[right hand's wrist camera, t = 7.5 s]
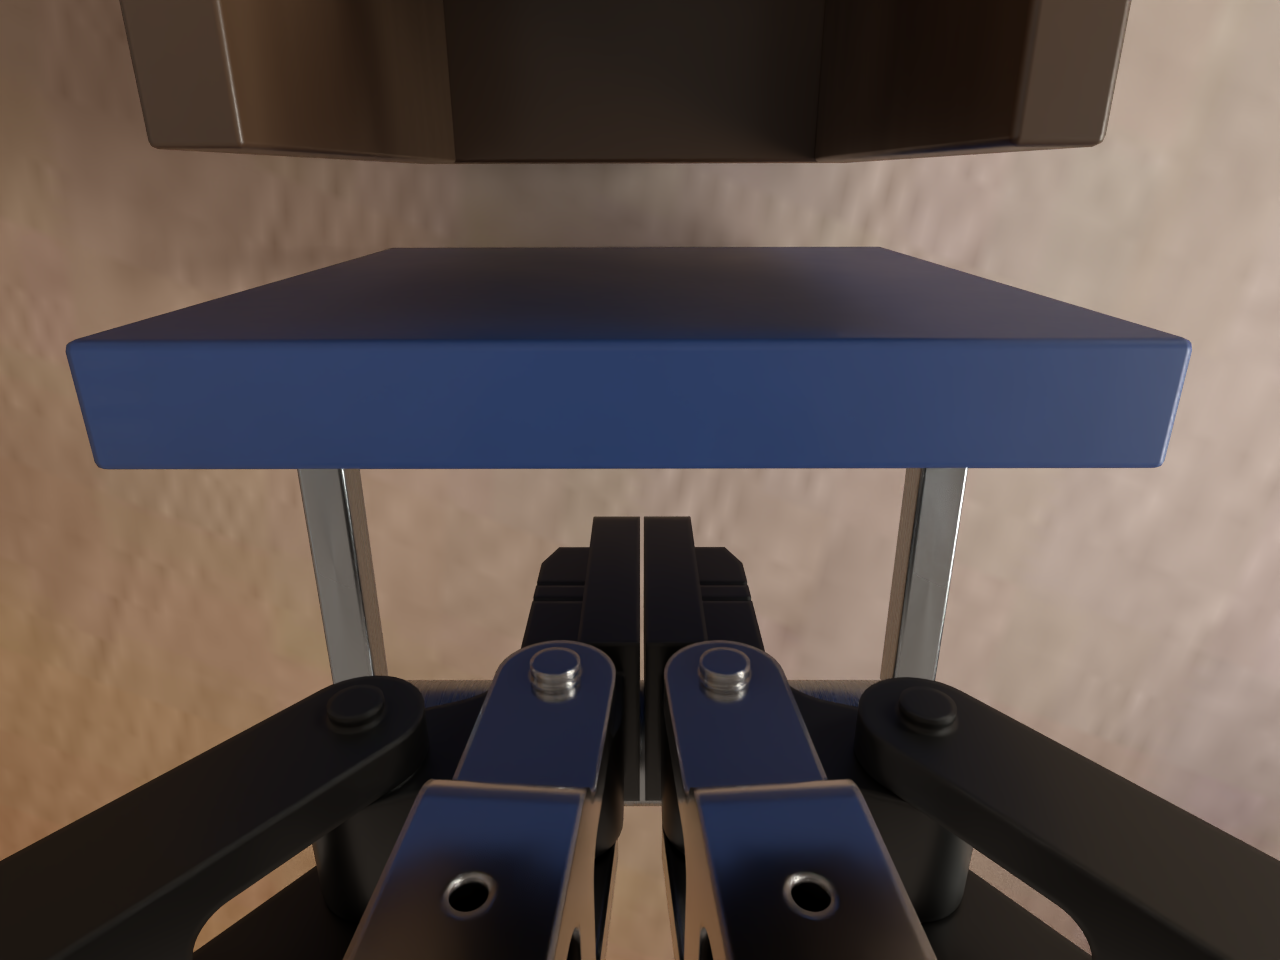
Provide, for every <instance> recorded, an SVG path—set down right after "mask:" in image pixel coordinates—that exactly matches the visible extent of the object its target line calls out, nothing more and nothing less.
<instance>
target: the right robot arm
mask: <svg viewBox="0 0 1280 960" xmlns="http://www.w3.org/2000/svg"><path fill="white" fill-rule="evenodd" d="M533 598H534V600H533V601H532V605H531V609H530V614H529V618H528V622H527V626H526V630H525V634H524V638H523V642H522V646H521V649H520V650H518V651H516V652H514V653H513V654H511V655H510V656H508V657H507V658H506V659H505V660H504V661H503V662H502V663H501V664H500V666H499V667H498V669H497V671H496V673H495V676H494V678H493V681H492V683H491V686H490V688H489V690H488V691H486V692H484V693H482V694H479V695H476V696H474V697H471V698H468V699H464V700H460V701H456V702H451V703H446V704H442V705H437V706H432V707H428V708H425V705H424V698H423V696H422V693H421V692H420V691H419V689H418V688H417V687H415V686H414V685H413V684H412V683H410V682H408V681H405V680H403V679H400V678H396V677H390V676H376V675H375V676H363V677H357V678H352V679H348V680H344V681H341V682H338V683H335V684H333V685H330V686H328V687H326V688H324V689H322V690H320V691H318V692H316V693H314V694H312V695H311V696H309V697H307V698H305V699H303V700H301V701H299V702H297V703H296V704H294V705H292V706H290V707H288V708H286V709H284V710H282V711H281V712H279V713H277V714H275V715H273V716H271V717H269V718H267V719H266V720H264V721H262V722H260V723H258V724H256V725H254V726H252V727H251V728H249V729H247V730H245V731H243V732H241V733H239V734H238V735H236V736H234V737H232V738H230V739H228V740H226V741H224V742H223V743H221V744H219V745H217V746H215V747H213V748H211V749H209V750H208V751H206V752H204V753H202V754H200V755H198V756H196V757H194V758H193V759H191V760H189V761H187V762H185V763H183V764H181V765H179V766H178V767H176V768H174V769H172V770H170V771H168V772H166V773H164V774H163V775H161V776H159V777H157V778H155V779H153V780H151V781H150V782H148V783H146V784H144V785H142V786H140V787H138V788H136V789H135V790H133V791H131V792H129V793H127V794H125V795H123V796H121V797H120V798H118V799H116V800H114V801H112V802H110V803H108V804H106V805H105V806H103V807H101V808H99V809H97V810H95V811H93V812H91V813H90V814H88V815H86V816H84V817H82V818H80V819H78V820H76V821H75V822H73V823H71V824H69V825H67V826H65V827H63V828H62V829H60V830H58V831H56V832H54V833H52V834H50V835H48V836H47V837H45V838H43V839H41V840H39V841H37V842H35V843H33V844H32V845H30V846H28V847H26V848H24V849H22V850H20V851H18V852H17V853H15V854H13V855H11V856H9V857H7V858H5V859H3V860H2V861H0V960H605V959H606V951H607V943H608V935H609V927H610V919H611V911H612V902H613V894H614V886H615V878H616V870H617V862H618V837H619V835H620V833H621V830H622V826H623V811H624V801H640V517H594V518H593V525H592V533H591V541H590V547H559V548H558V549H557V550H556V551H555V552H554V553H553V554H552V555H550V556H549V557H548V558H547V559H546V560H545V561H544V562H543V563H542V565H541V569H540V573H539V577H538V581H537V586H536V589H535V593H534V597H533ZM644 725H645V801H662V863H663V871H664V879H665V887H666V895H667V903H668V911H669V919H670V927H671V935H672V943H673V951H674V959H675V960H1280V861H1278V860H1277V859H1275V858H1273V857H1271V856H1269V855H1267V854H1265V853H1263V852H1262V851H1260V850H1258V849H1256V848H1254V847H1252V846H1250V845H1248V844H1247V843H1245V842H1243V841H1241V840H1239V839H1237V838H1235V837H1233V836H1232V835H1230V834H1228V833H1226V832H1224V831H1222V830H1220V829H1219V828H1217V827H1215V826H1213V825H1211V824H1209V823H1207V822H1205V821H1204V820H1202V819H1200V818H1198V817H1196V816H1194V815H1192V814H1190V813H1189V812H1187V811H1185V810H1183V809H1181V808H1179V807H1177V806H1175V805H1174V804H1172V803H1170V802H1168V801H1166V800H1164V799H1162V798H1160V797H1159V796H1157V795H1155V794H1153V793H1151V792H1149V791H1147V790H1145V789H1144V788H1142V787H1140V786H1138V785H1136V784H1134V783H1132V782H1131V781H1129V780H1127V779H1125V778H1123V777H1121V776H1119V775H1117V774H1116V773H1114V772H1112V771H1110V770H1108V769H1106V768H1104V767H1102V766H1101V765H1099V764H1097V763H1095V762H1093V761H1091V760H1089V759H1087V758H1086V757H1084V756H1082V755H1080V754H1078V753H1076V752H1074V751H1072V750H1071V749H1069V748H1067V747H1065V746H1063V745H1061V744H1059V743H1057V742H1056V741H1054V740H1052V739H1050V738H1048V737H1046V736H1044V735H1043V734H1041V733H1039V732H1037V731H1035V730H1033V729H1031V728H1029V727H1028V726H1026V725H1024V724H1022V723H1020V722H1018V721H1016V720H1014V719H1013V718H1011V717H1009V716H1007V715H1005V714H1003V713H1001V712H999V711H998V710H996V709H994V708H992V707H990V706H988V705H986V704H984V703H983V702H981V701H979V700H977V699H975V698H973V697H971V696H969V695H968V694H966V693H964V692H962V691H960V690H958V689H956V688H954V687H951V686H949V685H946V684H943V683H940V682H936V681H933V680H928V679H922V678H914V677H896V678H890V679H885V680H882V681H879V682H877V683H875V684H872V685H871V686H870V687H868V688H867V689H866V690H865V691H864V692H863V694H862V695H861V697H860V700H859V705H858V707H855V706H850V705H845V704H841V703H836V702H831V701H827V700H823V699H819V698H815V697H813V696H810V695H807V694H805V693H802V692H800V691H798V690H796V689H794V688H793V687H791V686H789V683H788V681H787V678H786V676H785V674H784V671H783V669H782V668H781V666H780V664H779V663H778V662H777V661H776V660H775V659H774V658H773V657H772V656H770V655H769V654H767V653H766V652H765V650H764V646H763V642H762V638H761V634H760V630H759V626H758V623H757V619H756V615H755V611H754V607H753V603H752V601H751V595H750V591H749V587H748V585H747V580H746V576H745V572H744V568H743V564H742V562H740V561H739V560H738V559H737V558H736V557H735V556H734V555H733V554H732V553H730V552H729V551H728V550H727V549H726V548H725V547H695V546H694V539H693V532H692V525H691V518H690V517H644ZM311 844H312V846H313V850H314V855H315V860H316V866H315V867H314V868H312V869H311V870H309V871H308V872H307V873H305V874H304V875H302V876H301V877H300V878H298V879H297V880H295V881H294V882H292V883H291V884H290V885H288V886H287V887H285V888H284V889H283V890H281V891H280V892H278V893H277V894H276V895H274V896H273V897H271V898H270V899H269V900H267V901H266V902H264V903H263V904H261V905H260V906H259V907H257V908H256V909H254V910H253V911H252V912H250V913H249V914H247V915H246V916H245V917H243V918H242V919H240V920H239V921H237V922H236V923H235V924H233V925H232V926H230V927H229V928H228V929H226V930H225V931H223V932H222V933H221V934H219V935H218V936H216V937H215V938H214V939H212V940H211V941H209V942H208V943H206V944H205V945H204V946H202V947H201V948H199V949H198V950H197V951H195V952H194V953H193V948H194V944H195V941H196V939H197V937H198V934H199V933H200V931H201V929H202V928H203V926H204V925H205V923H206V922H207V921H208V919H209V918H210V917H211V916H212V915H213V914H214V913H215V912H216V911H217V910H218V909H219V908H220V907H221V906H223V905H224V904H225V903H227V902H228V901H229V900H231V899H232V898H234V897H235V896H237V895H238V894H240V893H241V892H243V891H244V890H245V889H247V888H248V887H250V886H251V885H253V884H254V883H256V882H257V881H259V880H260V879H262V878H263V877H264V876H266V875H267V874H269V873H270V872H272V871H273V870H275V869H276V868H278V867H279V866H281V865H282V864H283V863H285V862H286V861H288V860H289V859H291V858H292V857H294V856H295V855H297V854H298V853H300V852H301V851H302V850H304V849H305V848H307V847H308V846H310V845H311ZM973 848H975V849H976V850H978V851H979V852H980V853H982V854H983V855H985V856H986V857H988V858H989V859H991V860H992V861H994V862H995V863H997V864H998V865H999V866H1001V867H1002V868H1004V869H1005V870H1007V871H1008V872H1010V873H1011V874H1013V875H1014V876H1016V877H1017V878H1018V879H1020V880H1021V881H1023V882H1024V883H1026V884H1027V885H1029V886H1030V887H1032V888H1033V889H1035V890H1036V891H1037V892H1039V893H1040V894H1042V895H1043V896H1045V897H1046V898H1048V899H1049V900H1051V901H1052V902H1054V903H1055V904H1056V905H1058V906H1059V907H1060V908H1062V909H1063V910H1064V911H1065V912H1066V913H1067V914H1069V915H1070V916H1071V917H1072V919H1073V920H1074V921H1075V922H1076V923H1077V924H1078V926H1079V927H1080V928H1081V930H1082V931H1083V933H1084V935H1085V937H1086V938H1087V941H1088V943H1089V945H1090V949H1091V953H1092V956H1091V955H1089V954H1088V953H1086V952H1085V951H1083V950H1082V949H1081V948H1079V947H1078V946H1076V945H1075V944H1074V943H1072V942H1071V941H1069V940H1068V939H1067V938H1065V937H1064V936H1062V935H1061V934H1059V933H1058V932H1057V931H1055V930H1054V929H1052V928H1051V927H1050V926H1048V925H1047V924H1045V923H1044V922H1043V921H1041V920H1040V919H1038V918H1037V917H1035V916H1034V915H1033V914H1031V913H1030V912H1028V911H1027V910H1026V909H1024V908H1023V907H1021V906H1020V905H1019V904H1017V903H1016V902H1014V901H1013V900H1012V899H1010V898H1009V897H1007V896H1006V895H1004V894H1003V893H1002V892H1000V891H999V890H997V889H996V888H995V887H993V886H992V885H990V884H989V883H988V882H986V881H985V880H983V879H982V878H980V877H979V876H978V875H976V874H975V873H973V872H972V871H971V870H969V865H970V860H971V855H972V850H973Z"/></svg>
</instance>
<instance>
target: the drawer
mask: <svg viewBox="0 0 1280 960" xmlns="http://www.w3.org/2000/svg"><path fill="white" fill-rule="evenodd" d="M120 5H121V10H122V15H123V20H124V24H125V29H126V34H127V39H128V44H129V49H130V53H131V58H132V63H133V68H134V73H135V78H136V82H137V87H138V92H139V97H140V102H141V107H142V111H143V116H144V121H145V126H146V131H147V136H148V140H149V143H150V145H151V146H152V147H155V148H157V149H168V150H186V151H203V152H221V153H239V154H257V155H275V156H293V157H311V158H329V159H346V160H364V161H382V162H400V163H419V164H583V163H850V162H864V161H880V160H895V159H910V158H925V157H941V156H956V155H971V154H987V153H1002V152H1017V151H1032V150H1048V149H1063V148H1078V147H1092V146H1095V145H1097V144H1100V143H1101V142H1102V141H1103V139H1104V137H1105V135H1106V130H1107V125H1108V120H1109V114H1110V109H1111V104H1112V99H1113V94H1114V88H1115V83H1116V78H1117V73H1118V67H1119V62H1120V57H1121V52H1122V47H1123V41H1124V36H1125V31H1126V26H1127V20H1128V15H1129V10H1130V5H1131V0H120ZM1191 352H1192V346H1191V342H1190V341H1189V340H1187V339H1184V338H1182V337H1179V336H1176V335H1172V334H1169V333H1166V332H1162V331H1159V330H1156V329H1152V328H1149V327H1146V326H1142V325H1139V324H1136V323H1132V322H1129V321H1126V320H1122V319H1119V318H1116V317H1112V316H1109V315H1105V314H1102V313H1099V312H1095V311H1092V310H1089V309H1085V308H1082V307H1079V306H1075V305H1072V304H1069V303H1065V302H1062V301H1059V300H1055V299H1052V298H1049V297H1045V296H1042V295H1039V294H1035V293H1032V292H1029V291H1025V290H1022V289H1019V288H1015V287H1012V286H1008V285H1005V284H1002V283H998V282H995V281H992V280H988V279H985V278H982V277H978V276H975V275H972V274H968V273H965V272H962V271H958V270H955V269H952V268H948V267H945V266H942V265H938V264H935V263H932V262H928V261H925V260H921V259H918V258H915V257H911V256H908V255H905V254H901V253H898V252H895V251H891V250H888V249H885V248H881V247H610V248H391V249H388V250H384V251H381V252H377V253H374V254H370V255H367V256H363V257H360V258H356V259H353V260H349V261H346V262H342V263H339V264H336V265H332V266H329V267H325V268H322V269H318V270H315V271H311V272H308V273H304V274H301V275H297V276H294V277H290V278H287V279H283V280H280V281H277V282H273V283H270V284H266V285H263V286H259V287H256V288H252V289H249V290H245V291H242V292H238V293H235V294H231V295H228V296H225V297H221V298H218V299H214V300H211V301H207V302H204V303H200V304H197V305H193V306H190V307H186V308H183V309H179V310H176V311H173V312H169V313H166V314H162V315H159V316H155V317H152V318H148V319H145V320H141V321H138V322H134V323H131V324H127V325H124V326H121V327H117V328H114V329H110V330H107V331H103V332H100V333H96V334H93V335H89V336H86V337H82V338H79V339H76V340H73V341H71V342H69V343H68V344H67V345H66V355H67V359H68V362H69V366H70V370H71V374H72V378H73V381H74V385H75V389H76V393H77V396H78V400H79V404H80V408H81V412H82V415H83V419H84V423H85V427H86V430H87V434H88V438H89V442H90V446H91V449H92V453H93V457H94V461H95V463H96V464H97V466H98V467H100V468H103V469H297V471H298V477H299V483H300V489H301V495H302V501H303V507H304V513H305V519H306V525H307V530H308V536H309V542H310V548H311V554H312V560H313V566H314V572H315V578H316V584H317V590H318V596H319V602H320V608H321V614H322V620H323V626H324V632H325V638H326V644H327V650H328V655H329V661H330V667H331V673H332V679H333V684H335V683H338V682H341V681H344V680H348V679H352V678H357V677H363V676H375V675H376V676H388V671H387V664H386V657H385V650H384V642H383V635H382V628H381V621H380V613H379V606H378V599H377V592H376V584H375V577H374V570H373V563H372V555H371V548H370V541H369V534H368V526H367V519H366V512H365V505H364V497H363V490H362V483H361V476H360V469H660V468H906V476H905V484H904V491H903V499H902V507H901V515H900V523H899V531H898V539H897V547H896V555H895V563H894V571H893V579H892V587H891V595H890V603H889V611H888V618H887V626H886V634H885V642H884V650H883V658H882V666H881V674H880V679H881V680H787V681H788V683H789V686H791V687H793V688H794V689H796V690H798V691H800V692H802V693H805V694H807V695H810V696H813V697H815V698H819V699H823V700H827V701H831V702H836V703H841V704H845V705H850V706H855V707H858V705H859V700H860V697H861V695H862V694H863V692H864V691H865V690H866V689H867V688H868V687H870V686H871V685H872V684H875V683H877V682H879V681H882V680H885V679H890V678H896V677H914V678H922V679H928V680H933V681H935V677H936V671H937V664H938V658H939V652H940V645H941V639H942V632H943V626H944V619H945V613H946V607H947V600H948V594H949V587H950V581H951V574H952V568H953V562H954V555H955V549H956V542H957V536H958V530H959V523H960V517H961V510H962V504H963V497H964V491H965V485H966V478H967V472H968V468H1155V467H1158V466H1161V465H1162V463H1163V462H1164V460H1165V456H1166V452H1167V448H1168V444H1169V440H1170V436H1171V432H1172V428H1173V424H1174V420H1175V416H1176V412H1177V408H1178V404H1179V400H1180V396H1181V392H1182V388H1183V384H1184V380H1185V376H1186V372H1187V368H1188V364H1189V360H1190V356H1191ZM405 681H408V682H410V683H412V684H413V685H414V686H415V687H417V688H418V689H419V691H420V692H421V693H422V696H423V698H424V705H425V708H428V707H432V706H437V705H442V704H446V703H451V702H456V701H460V700H464V699H468V698H471V697H474V696H476V695H479V694H482V693H484V692H486V691H488V690H489V688H490V686H491V683H492V681H493V680H405ZM624 806H662V801H645V725H644V680H640V801H624Z"/></svg>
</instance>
